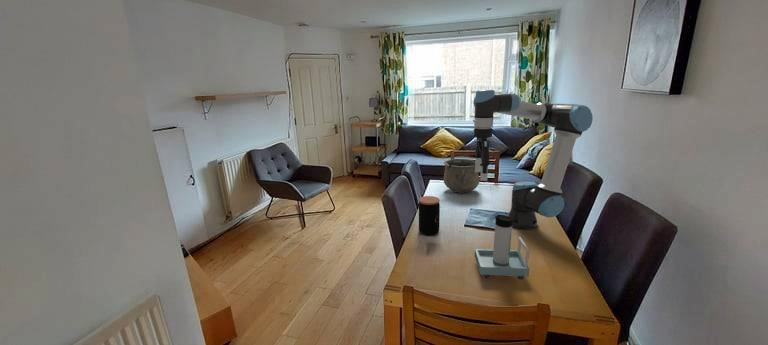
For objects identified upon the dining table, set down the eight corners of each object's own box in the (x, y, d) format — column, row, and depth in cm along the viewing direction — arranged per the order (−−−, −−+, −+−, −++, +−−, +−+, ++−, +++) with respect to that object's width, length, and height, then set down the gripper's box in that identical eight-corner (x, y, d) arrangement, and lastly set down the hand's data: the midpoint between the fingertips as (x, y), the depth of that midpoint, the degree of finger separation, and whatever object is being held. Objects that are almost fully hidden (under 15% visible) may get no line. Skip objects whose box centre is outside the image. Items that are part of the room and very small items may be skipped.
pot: (443, 196, 217) (444, 166, 212) (443, 185, 240) (443, 158, 234) (481, 197, 213) (482, 166, 208) (477, 186, 236) (478, 158, 230)
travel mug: (489, 258, 131) (492, 213, 126) (504, 257, 132) (508, 212, 126) (495, 266, 125) (499, 220, 120) (511, 265, 126) (516, 219, 120)
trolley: (517, 261, 135) (520, 235, 132) (528, 281, 122) (531, 252, 118) (474, 260, 137) (475, 234, 134) (479, 279, 124) (481, 250, 120)
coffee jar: (438, 237, 159) (439, 203, 155) (417, 235, 161) (417, 202, 157) (439, 228, 169) (440, 196, 165) (419, 226, 171) (419, 195, 167)
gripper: (469, 124, 146) (468, 168, 151) (479, 131, 122) (476, 184, 128) (486, 124, 145) (484, 168, 151) (499, 131, 121) (496, 184, 127)
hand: (480, 176), depth 139 cm, fingers open, 13 cm apart
